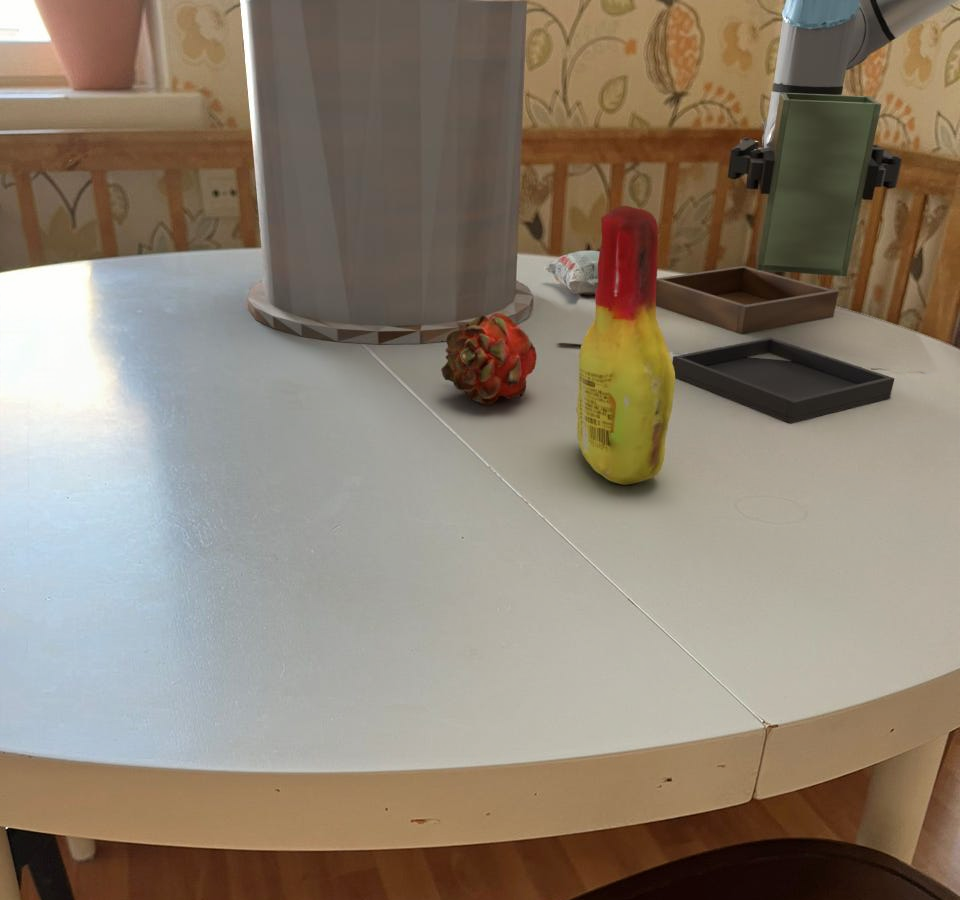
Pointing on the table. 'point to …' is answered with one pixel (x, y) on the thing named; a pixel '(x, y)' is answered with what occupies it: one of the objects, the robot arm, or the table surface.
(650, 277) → the bottle
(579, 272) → the packaged food
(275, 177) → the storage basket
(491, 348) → the dragon fruit
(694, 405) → the table surface
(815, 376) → the tray
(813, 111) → the tall basket
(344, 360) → the table surface
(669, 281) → the brown wooden tray
